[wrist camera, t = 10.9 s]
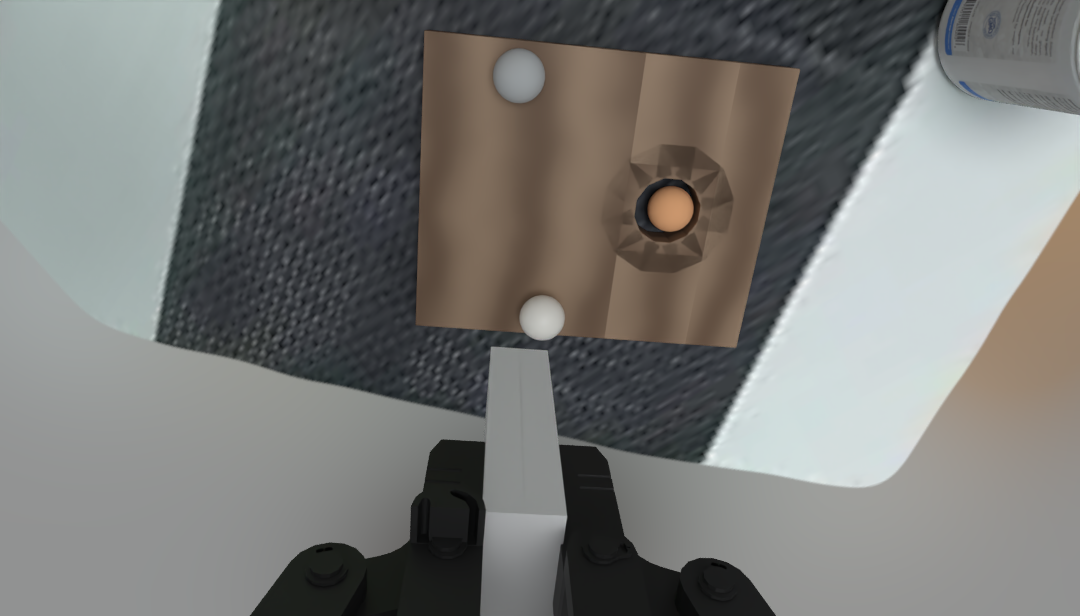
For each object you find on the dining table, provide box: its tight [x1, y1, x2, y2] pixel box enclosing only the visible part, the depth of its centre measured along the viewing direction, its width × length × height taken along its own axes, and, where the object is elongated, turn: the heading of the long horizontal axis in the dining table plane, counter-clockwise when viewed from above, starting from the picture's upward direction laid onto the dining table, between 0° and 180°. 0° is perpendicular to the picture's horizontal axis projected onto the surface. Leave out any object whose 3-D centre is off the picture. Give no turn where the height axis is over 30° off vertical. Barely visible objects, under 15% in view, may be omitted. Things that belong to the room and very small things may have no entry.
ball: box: [647, 186, 694, 232], centre depth 49 cm, size 3×3×3 cm
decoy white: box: [520, 295, 565, 340], centre depth 49 cm, size 3×3×3 cm
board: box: [416, 30, 800, 348], centre depth 48 cm, size 24×20×2 cm
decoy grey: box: [493, 48, 545, 103], centre depth 42 cm, size 3×3×3 cm
